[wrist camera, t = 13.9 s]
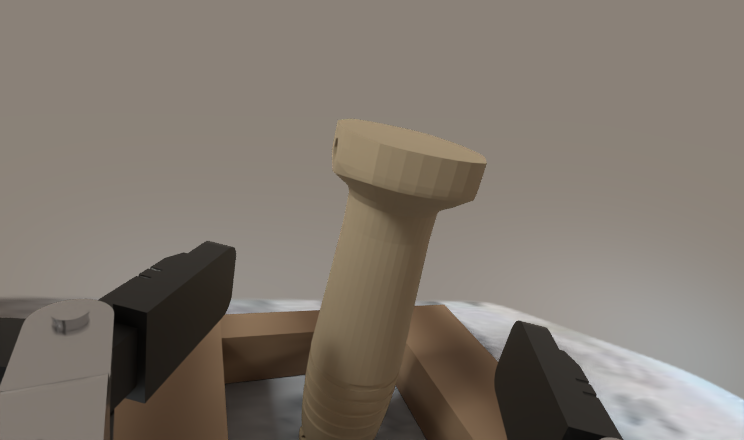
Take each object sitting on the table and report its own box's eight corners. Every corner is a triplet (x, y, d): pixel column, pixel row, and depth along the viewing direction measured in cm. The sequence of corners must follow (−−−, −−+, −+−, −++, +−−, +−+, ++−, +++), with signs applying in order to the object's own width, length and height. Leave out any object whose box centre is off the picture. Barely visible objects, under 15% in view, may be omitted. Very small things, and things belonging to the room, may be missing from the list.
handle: (368, 399, 22) (439, 135, 17) (397, 522, 16) (519, 172, 11) (281, 398, 20) (330, 113, 15) (277, 532, 14) (354, 141, 10)
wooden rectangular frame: (-22, 841, 8) (-41, 776, 7) (111, 368, 20) (111, 319, 19) (597, 547, 17) (627, 500, 16) (433, 339, 28) (444, 304, 27)
